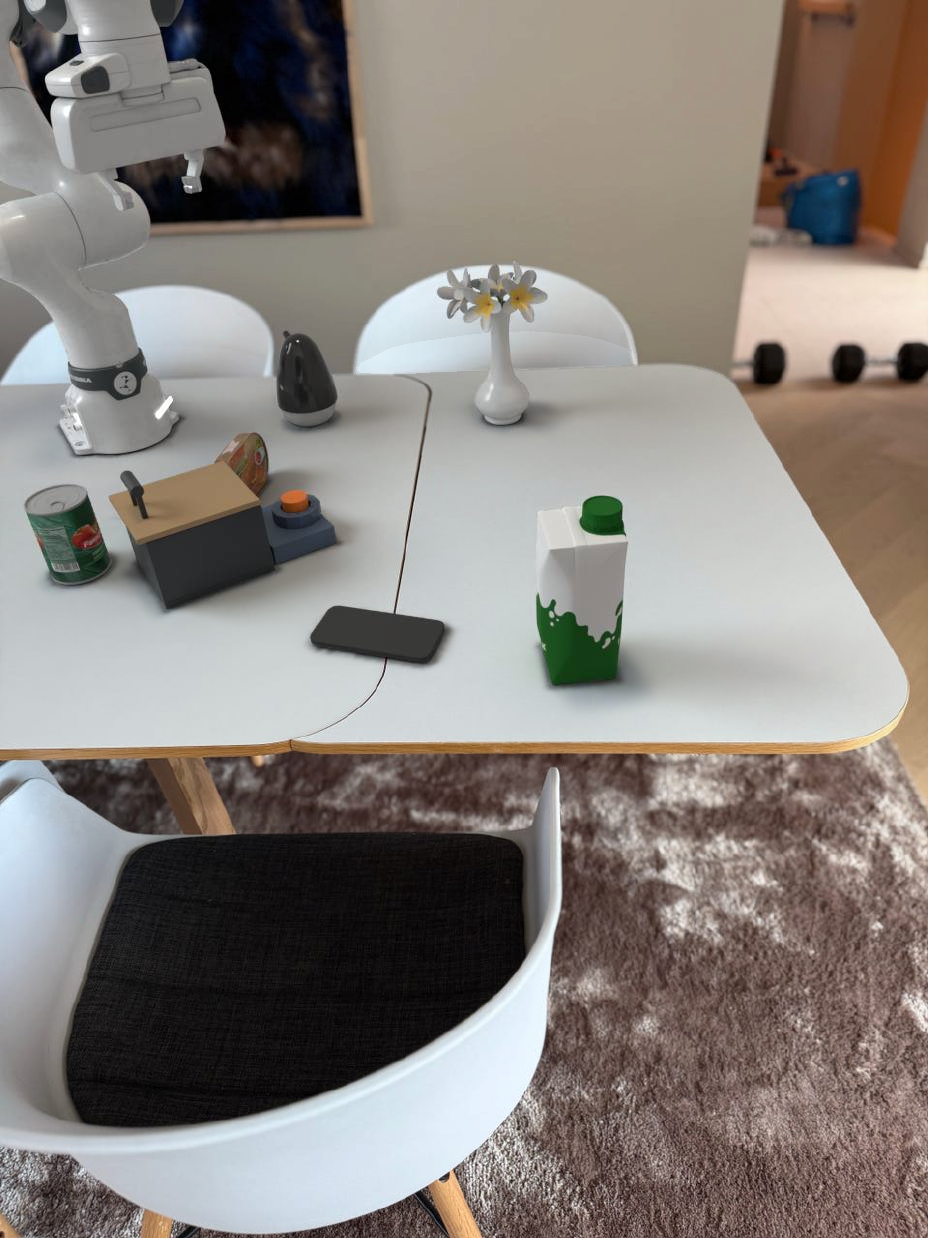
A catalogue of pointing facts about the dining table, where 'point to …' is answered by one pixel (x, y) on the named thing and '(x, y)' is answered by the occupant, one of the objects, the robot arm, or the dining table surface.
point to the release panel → (297, 530)
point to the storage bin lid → (180, 501)
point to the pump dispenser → (304, 382)
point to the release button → (294, 501)
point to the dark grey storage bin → (206, 557)
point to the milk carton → (581, 589)
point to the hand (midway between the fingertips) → (160, 200)
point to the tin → (247, 459)
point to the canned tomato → (68, 533)
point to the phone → (378, 633)
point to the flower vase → (496, 333)
